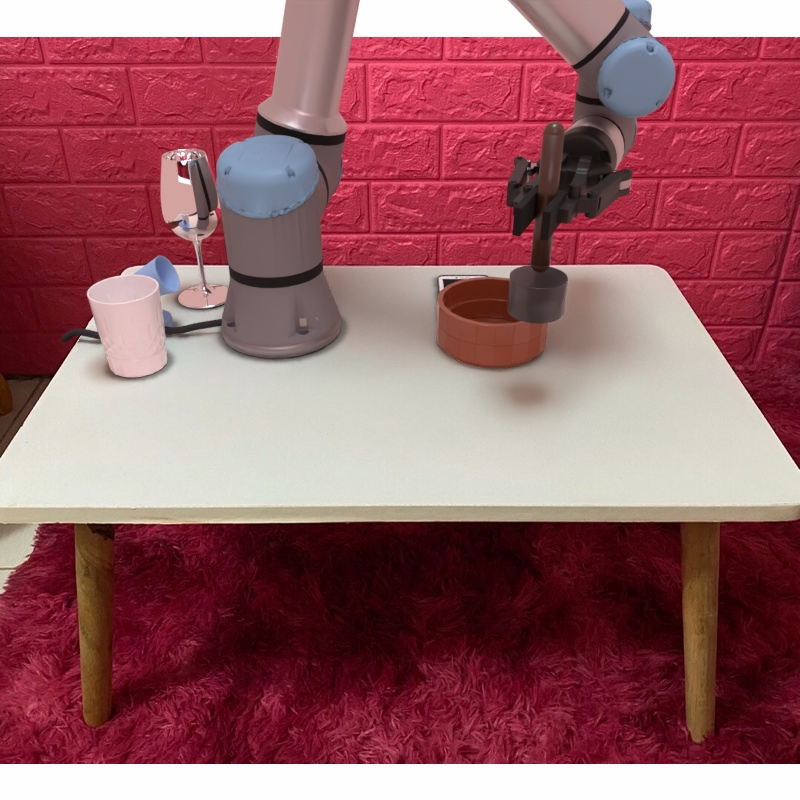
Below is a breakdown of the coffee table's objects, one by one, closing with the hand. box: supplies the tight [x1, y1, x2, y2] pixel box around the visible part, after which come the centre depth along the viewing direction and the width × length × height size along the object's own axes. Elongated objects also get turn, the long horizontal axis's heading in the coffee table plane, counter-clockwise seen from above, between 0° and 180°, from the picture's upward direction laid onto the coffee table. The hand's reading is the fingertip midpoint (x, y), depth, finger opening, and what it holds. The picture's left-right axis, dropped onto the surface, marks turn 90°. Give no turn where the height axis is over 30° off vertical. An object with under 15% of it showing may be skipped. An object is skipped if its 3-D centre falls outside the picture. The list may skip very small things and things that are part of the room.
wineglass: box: [159, 148, 228, 310], centre depth 104 cm, size 8×8×20 cm
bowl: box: [435, 276, 549, 369], centre depth 96 cm, size 14×14×6 cm
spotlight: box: [132, 255, 181, 335], centre depth 99 cm, size 5×10×7 cm
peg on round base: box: [507, 120, 569, 324], centre depth 77 cm, size 6×6×20 cm
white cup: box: [86, 274, 168, 378], centre depth 91 cm, size 8×8×10 cm
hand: (531, 223), depth 72 cm, fingers closed on peg on round base, 2 cm apart
